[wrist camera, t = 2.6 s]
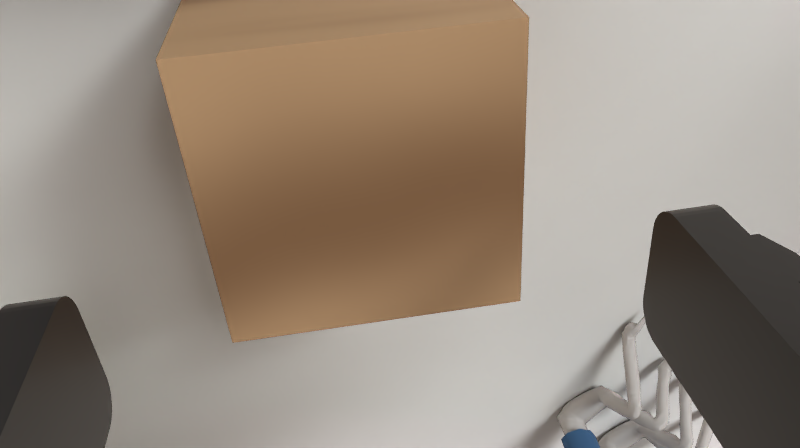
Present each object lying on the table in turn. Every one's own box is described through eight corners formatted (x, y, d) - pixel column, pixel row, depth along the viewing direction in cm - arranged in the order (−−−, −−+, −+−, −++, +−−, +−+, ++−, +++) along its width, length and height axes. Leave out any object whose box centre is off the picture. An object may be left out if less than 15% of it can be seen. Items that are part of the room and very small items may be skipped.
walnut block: (195, -33, 15) (155, 60, 10) (454, -60, 15) (528, 17, 11) (245, 193, 18) (232, 342, 13) (460, 165, 18) (520, 300, 14)
